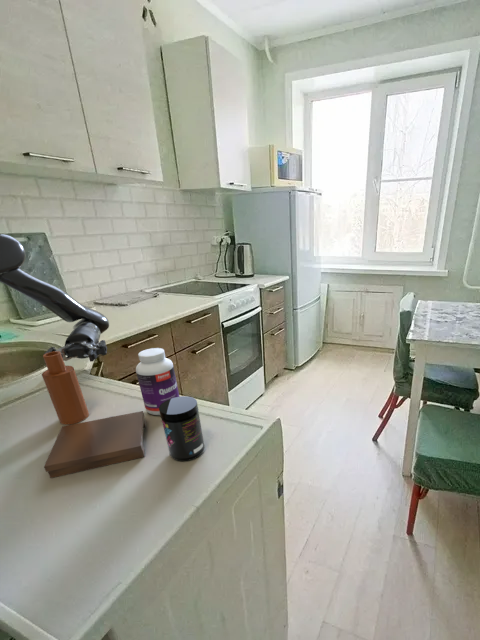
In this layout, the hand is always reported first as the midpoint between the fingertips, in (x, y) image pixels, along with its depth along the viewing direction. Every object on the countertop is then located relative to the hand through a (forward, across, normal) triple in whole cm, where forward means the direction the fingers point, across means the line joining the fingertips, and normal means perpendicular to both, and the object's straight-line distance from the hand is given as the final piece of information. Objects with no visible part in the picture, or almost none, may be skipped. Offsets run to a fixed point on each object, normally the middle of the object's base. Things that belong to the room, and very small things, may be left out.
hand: (72, 360), depth 88 cm
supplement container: (+36, +24, +10) cm, 44 cm away
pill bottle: (+16, +20, +10) cm, 28 cm away
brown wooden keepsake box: (+28, +8, +10) cm, 31 cm away
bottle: (+12, 0, +10) cm, 16 cm away
